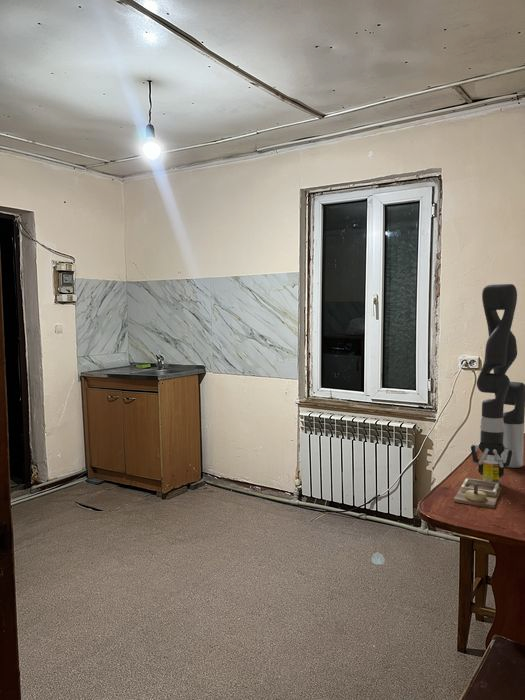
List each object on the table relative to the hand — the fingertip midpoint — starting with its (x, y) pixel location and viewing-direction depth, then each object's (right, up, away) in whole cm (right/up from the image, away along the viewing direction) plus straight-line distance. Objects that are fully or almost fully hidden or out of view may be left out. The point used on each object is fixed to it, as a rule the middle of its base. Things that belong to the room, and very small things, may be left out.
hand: (490, 475), depth 187 cm
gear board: (-10, -4, -13) cm, 17 cm away
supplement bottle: (0, -3, 0) cm, 3 cm away
